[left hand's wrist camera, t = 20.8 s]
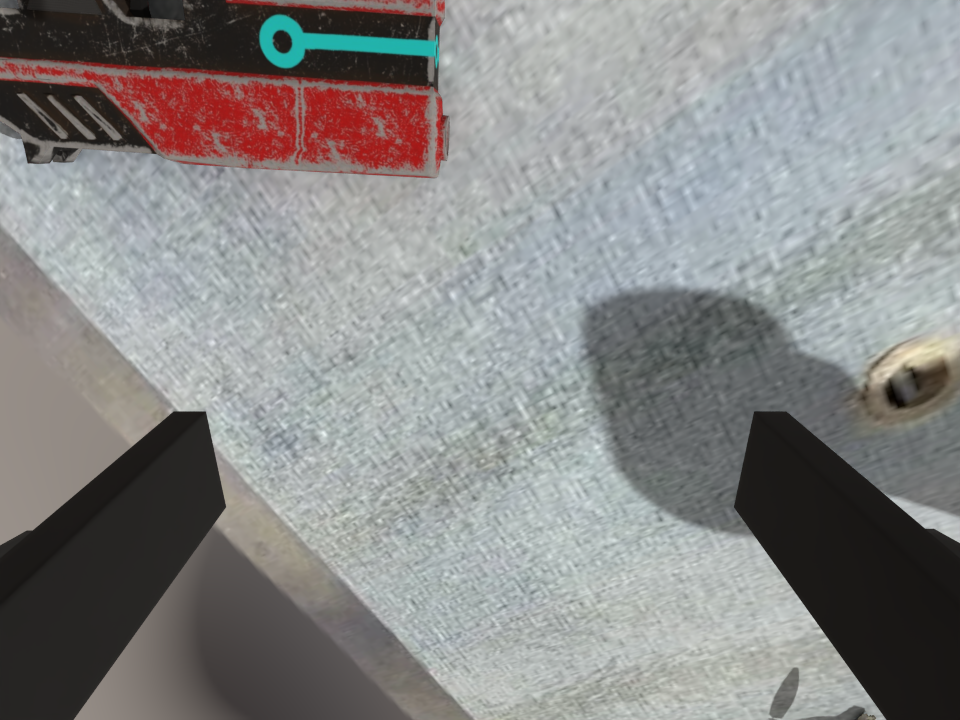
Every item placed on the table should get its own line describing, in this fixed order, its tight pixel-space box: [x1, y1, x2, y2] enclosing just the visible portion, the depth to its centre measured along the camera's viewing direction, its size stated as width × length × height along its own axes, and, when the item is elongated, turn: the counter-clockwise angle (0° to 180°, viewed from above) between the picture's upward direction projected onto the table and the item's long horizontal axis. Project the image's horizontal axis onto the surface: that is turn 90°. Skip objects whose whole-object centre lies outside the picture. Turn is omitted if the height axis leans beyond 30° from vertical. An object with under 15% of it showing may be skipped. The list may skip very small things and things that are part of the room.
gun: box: [0, 0, 449, 178], centre depth 34 cm, size 4×31×19 cm
